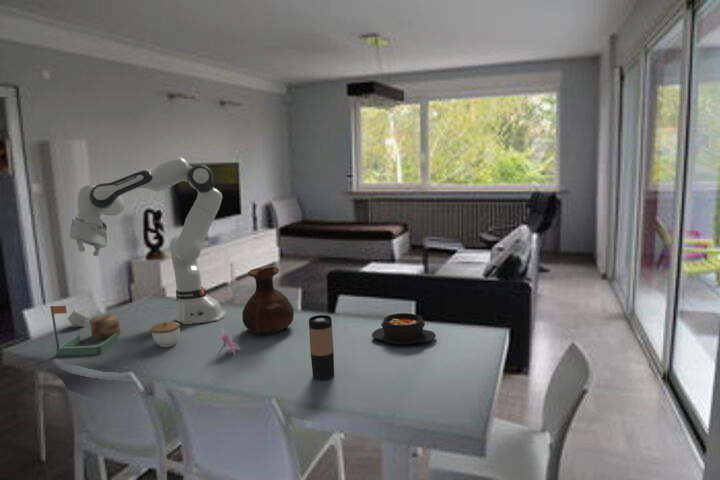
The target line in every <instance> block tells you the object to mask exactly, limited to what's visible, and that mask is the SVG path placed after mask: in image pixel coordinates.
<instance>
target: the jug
mask: <svg viewBox="0 0 720 480" xmlns="http://www.w3.org/2000/svg"><path fill="white" fill-rule="evenodd" d="M279 272H280V269H279V267H278V266H275V265H269V266H268V265H267V266H261V267H256V268H253V269H250V270H248V272H247V274H248V276H249V277H251V278H254V281H255V287H256V288H255V292H254V293H253V294H252V295H251V296H250V298H248V300H247V301H246V303H245V305H244V307H243V310H242V313H241V314H242V315H241V316H242V322H243V326H245V328H246V330H249V331H250V332H252V333H253V334H257V335H271V334H276V333H280V332H281V331H283V330H284V329H286V328H288V327H289V326H290V325H291V324H292V322H293V320H294V315H295V314H294V313H295V311H294V307H293V305H292V303H291V302H290V300H289V299H288V297H287V296H286V295H285V294H284V293H282V292H281V291H280V290H278V289H276V288H275V287H274V281H273V279H274V276H276V275H277V274H278V273H279Z"/></svg>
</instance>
